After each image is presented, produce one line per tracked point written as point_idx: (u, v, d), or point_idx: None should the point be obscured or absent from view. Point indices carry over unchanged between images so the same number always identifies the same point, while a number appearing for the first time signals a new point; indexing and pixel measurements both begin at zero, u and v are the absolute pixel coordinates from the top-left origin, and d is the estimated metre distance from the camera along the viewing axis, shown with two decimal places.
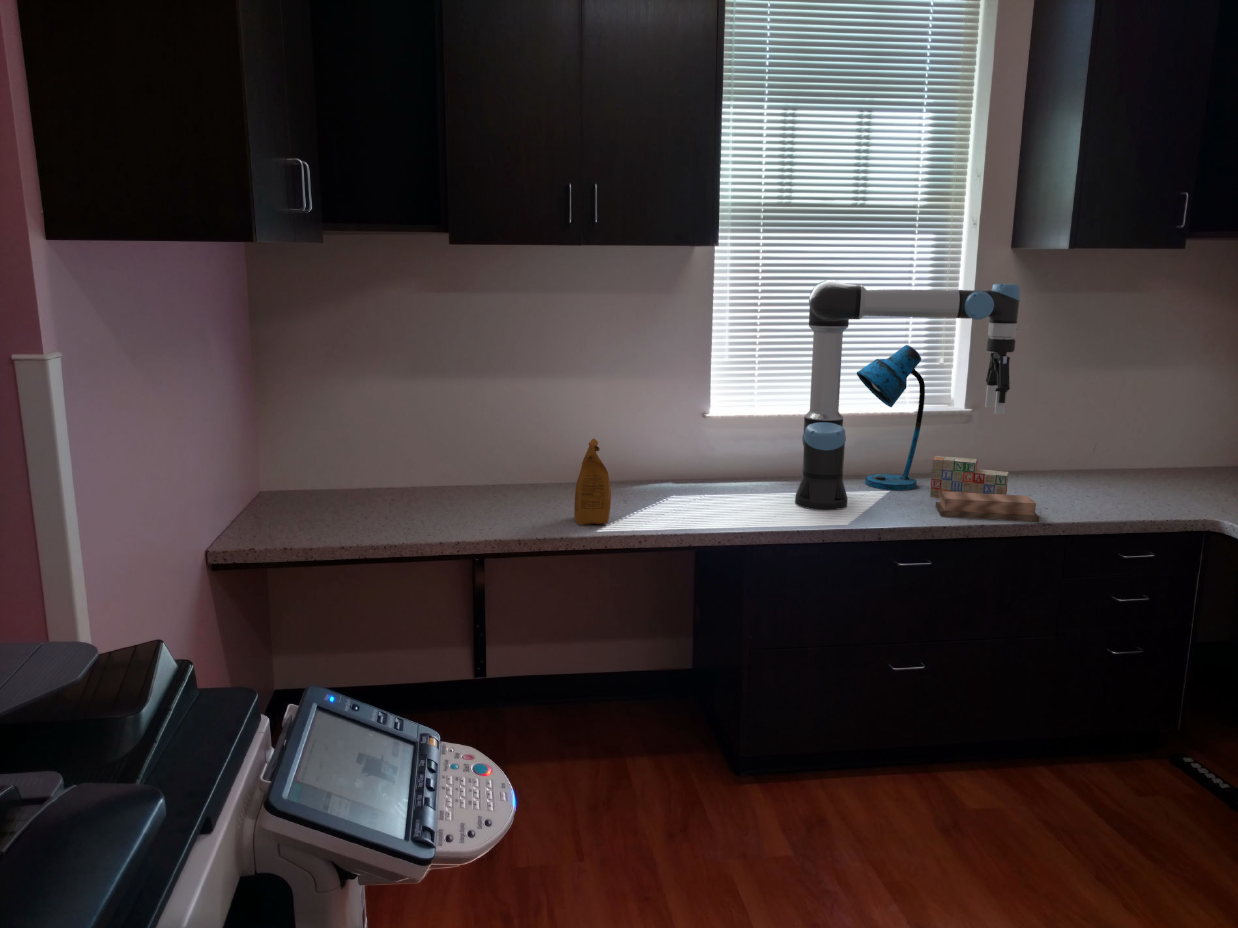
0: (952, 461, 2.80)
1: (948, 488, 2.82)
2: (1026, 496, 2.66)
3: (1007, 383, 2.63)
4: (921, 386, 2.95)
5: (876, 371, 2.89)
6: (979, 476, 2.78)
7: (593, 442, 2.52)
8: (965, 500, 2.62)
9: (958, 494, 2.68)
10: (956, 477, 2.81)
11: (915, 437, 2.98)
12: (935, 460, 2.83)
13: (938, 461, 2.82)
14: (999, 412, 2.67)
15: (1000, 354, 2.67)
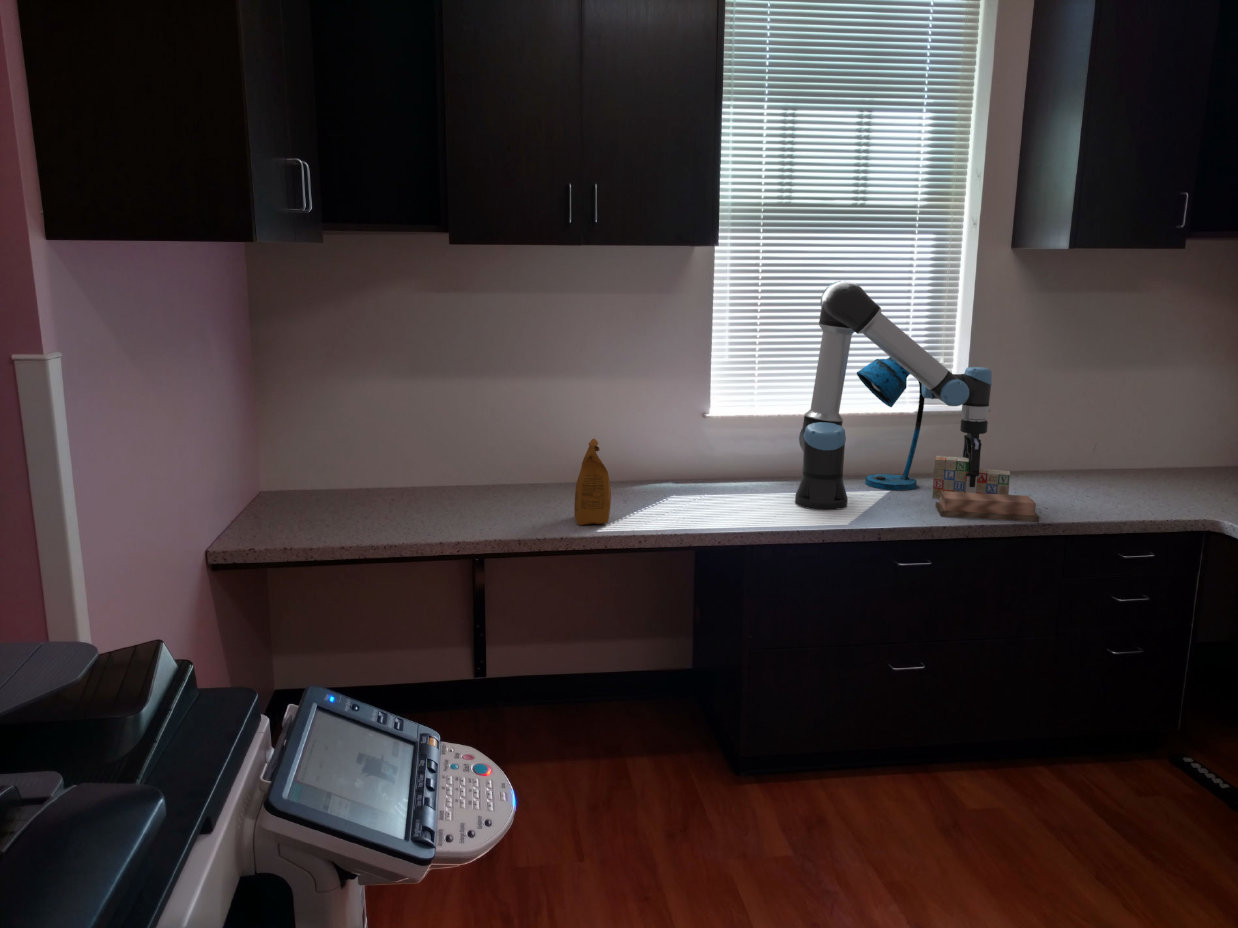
0: (954, 461, 2.80)
1: (950, 488, 2.82)
2: (1026, 496, 2.66)
3: (977, 469, 2.74)
4: (921, 386, 2.95)
5: (876, 371, 2.89)
6: (982, 476, 2.78)
7: (593, 442, 2.52)
8: (965, 500, 2.62)
9: (958, 494, 2.68)
10: (959, 477, 2.80)
11: (915, 437, 2.98)
12: (937, 460, 2.82)
13: (940, 461, 2.82)
14: None
15: (973, 436, 2.76)
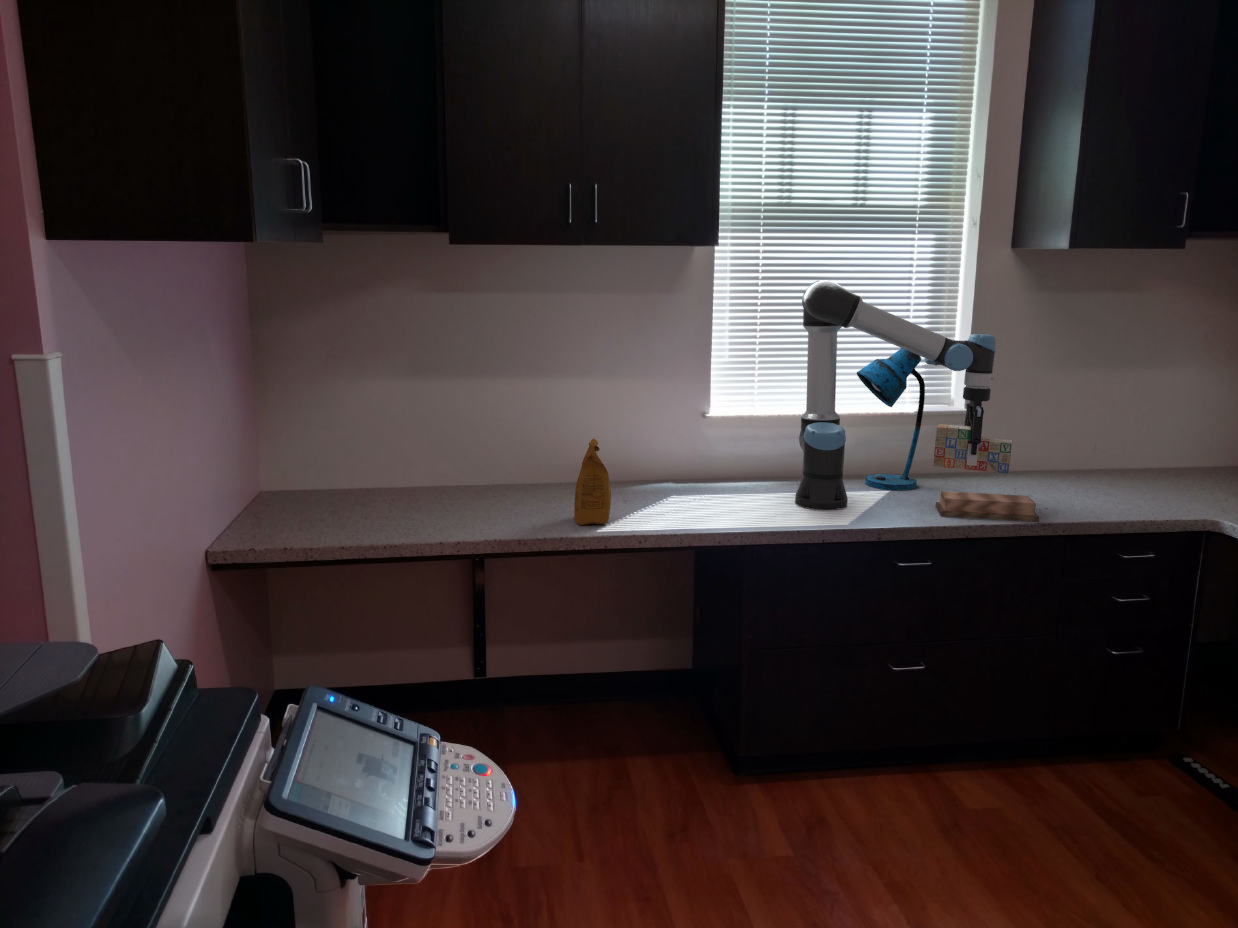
0: (956, 429, 2.78)
1: (951, 456, 2.80)
2: (1026, 496, 2.66)
3: (979, 437, 2.72)
4: (921, 386, 2.95)
5: (876, 371, 2.89)
6: (983, 444, 2.76)
7: (593, 442, 2.52)
8: (965, 500, 2.62)
9: (958, 494, 2.68)
10: (960, 445, 2.78)
11: (915, 437, 2.98)
12: (939, 428, 2.80)
13: (942, 429, 2.79)
14: (971, 463, 2.77)
15: (975, 403, 2.74)
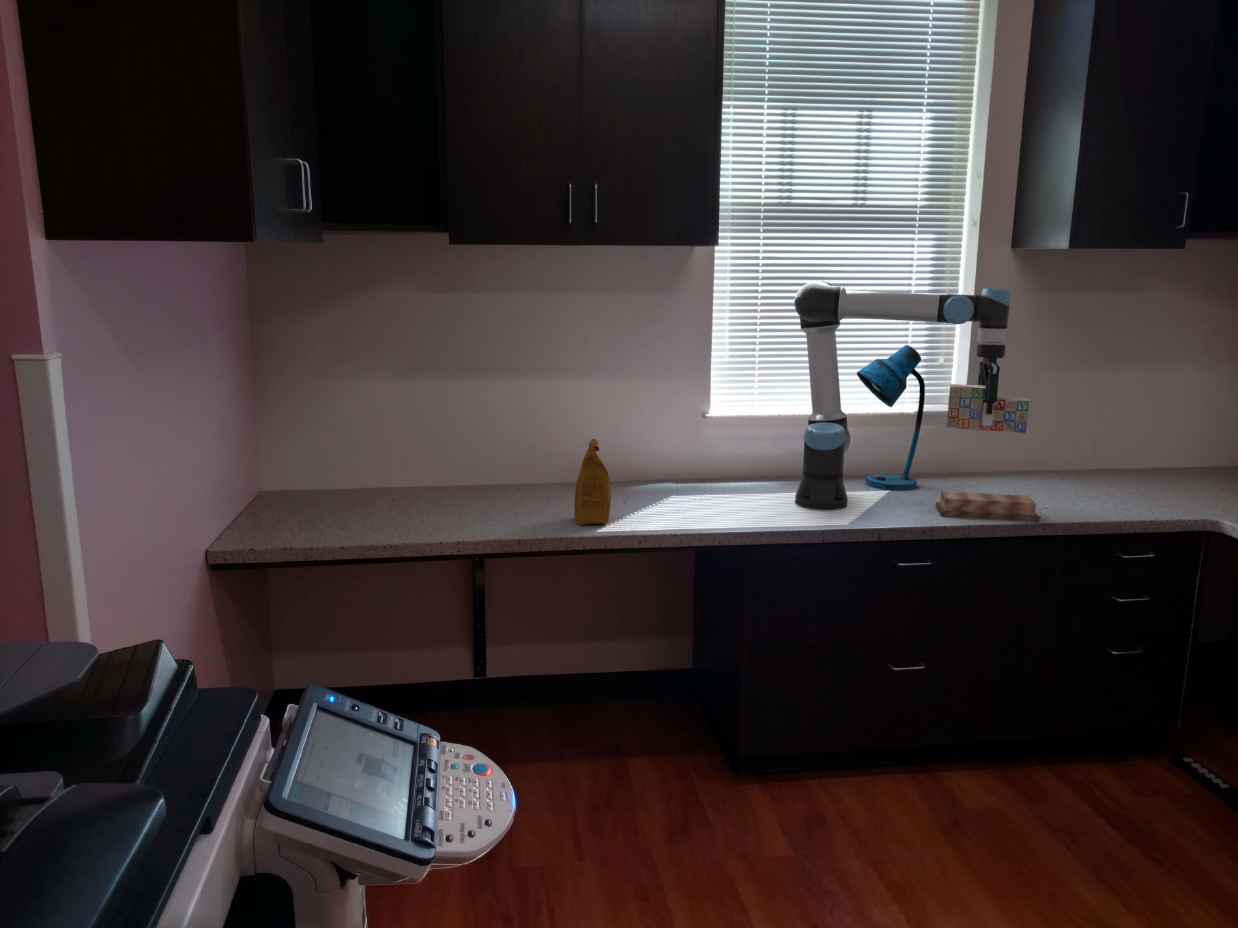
0: (971, 388, 2.66)
1: (966, 416, 2.68)
2: (1026, 496, 2.66)
3: (995, 395, 2.61)
4: (921, 386, 2.95)
5: (876, 371, 2.89)
6: (999, 403, 2.64)
7: (593, 442, 2.52)
8: (965, 500, 2.62)
9: (958, 494, 2.68)
10: (975, 405, 2.66)
11: (915, 437, 2.98)
12: (952, 387, 2.68)
13: (956, 388, 2.68)
14: (986, 423, 2.65)
15: (990, 360, 2.62)
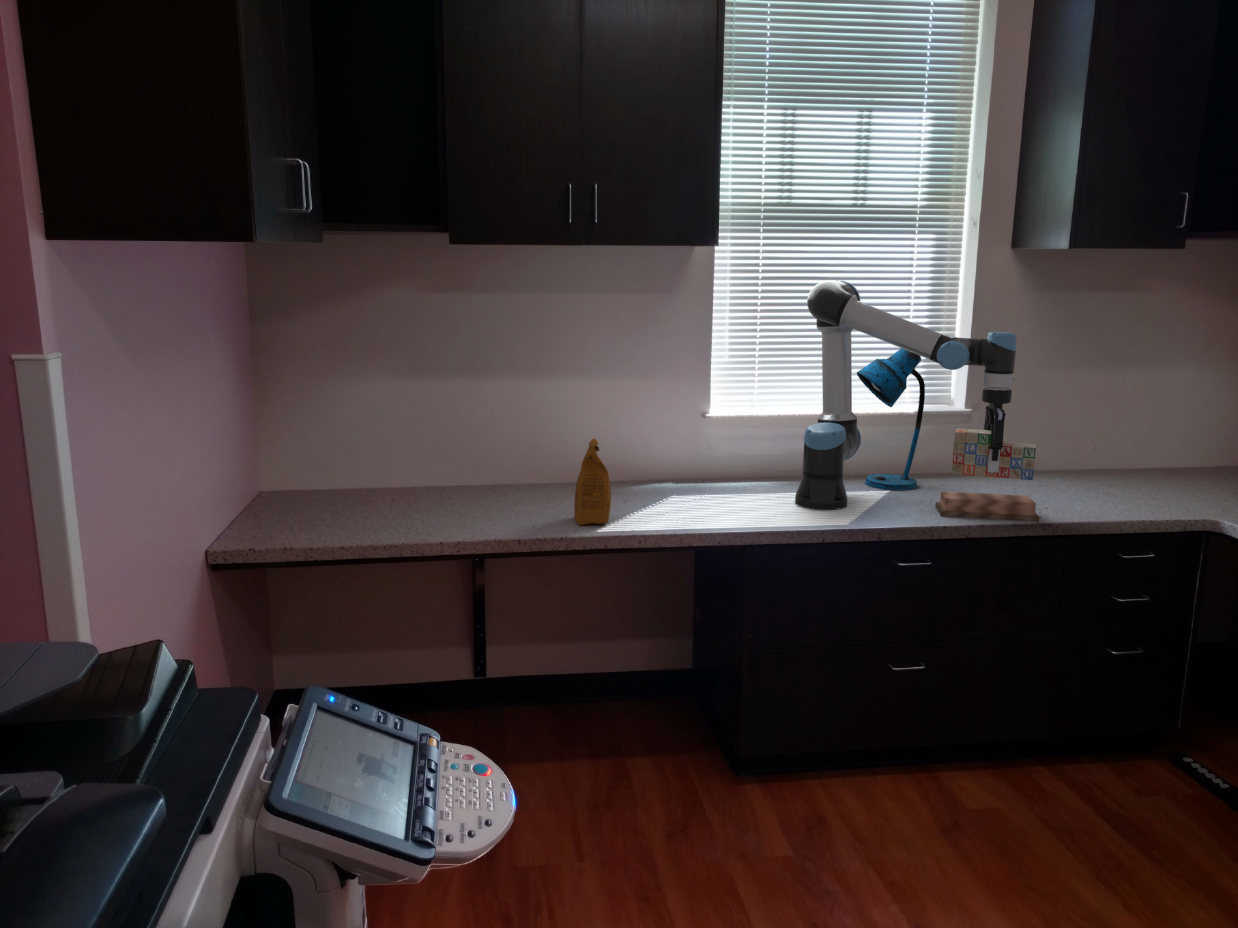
0: (976, 433, 2.60)
1: (971, 462, 2.62)
2: (1026, 496, 2.66)
3: (1000, 442, 2.55)
4: (921, 386, 2.95)
5: (876, 371, 2.89)
6: (1005, 449, 2.58)
7: (593, 442, 2.52)
8: (965, 500, 2.62)
9: (958, 494, 2.68)
10: (980, 451, 2.60)
11: (915, 437, 2.98)
12: (957, 433, 2.62)
13: (961, 434, 2.62)
14: (992, 470, 2.59)
15: (996, 405, 2.56)
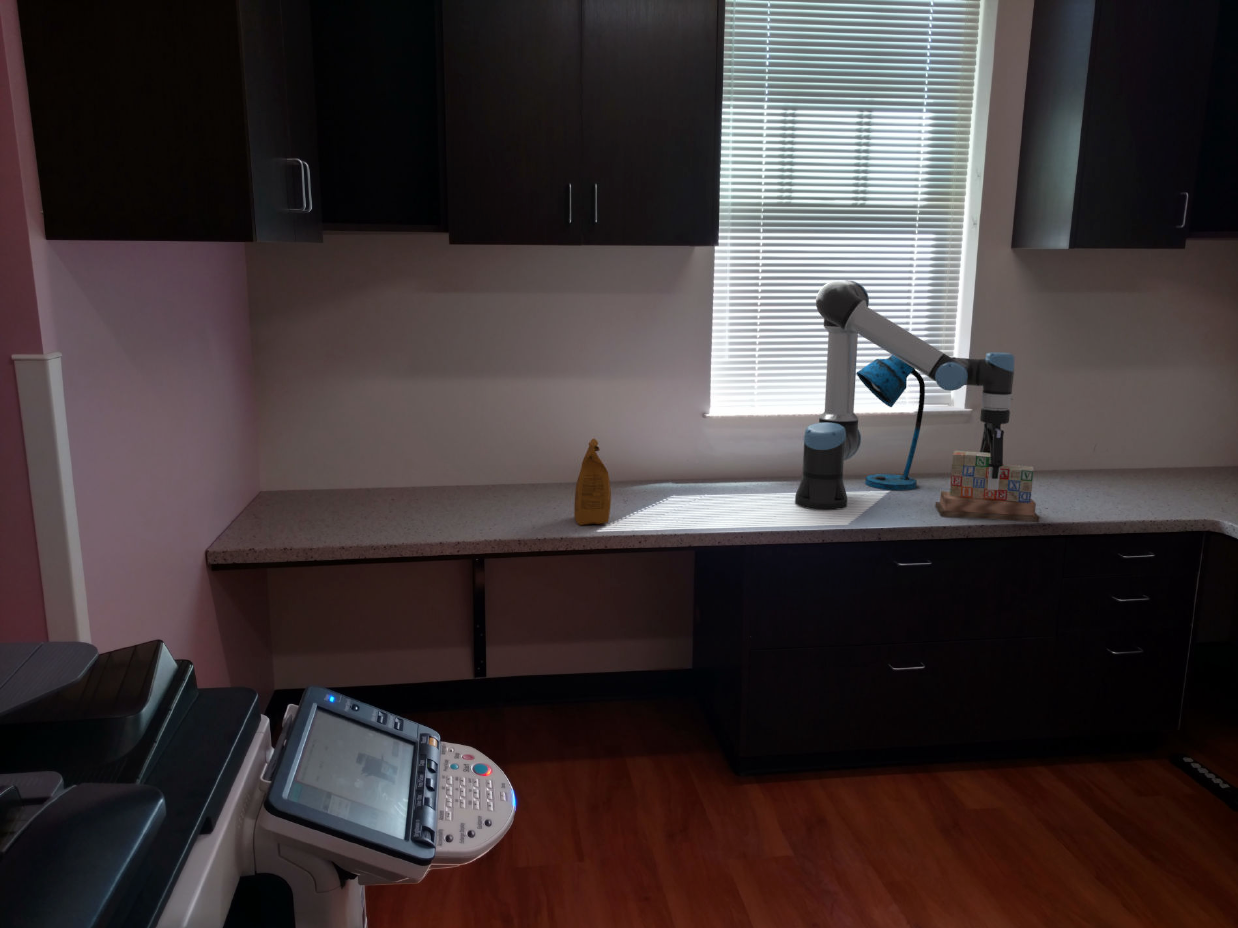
0: (974, 456, 2.62)
1: (969, 485, 2.63)
2: None
3: (1000, 459, 2.54)
4: (921, 386, 2.95)
5: (876, 371, 2.89)
6: (1003, 472, 2.59)
7: (593, 442, 2.52)
8: (965, 500, 2.62)
9: None
10: (978, 473, 2.62)
11: (915, 437, 2.98)
12: (955, 455, 2.64)
13: (959, 456, 2.63)
14: (992, 488, 2.58)
15: (994, 426, 2.57)
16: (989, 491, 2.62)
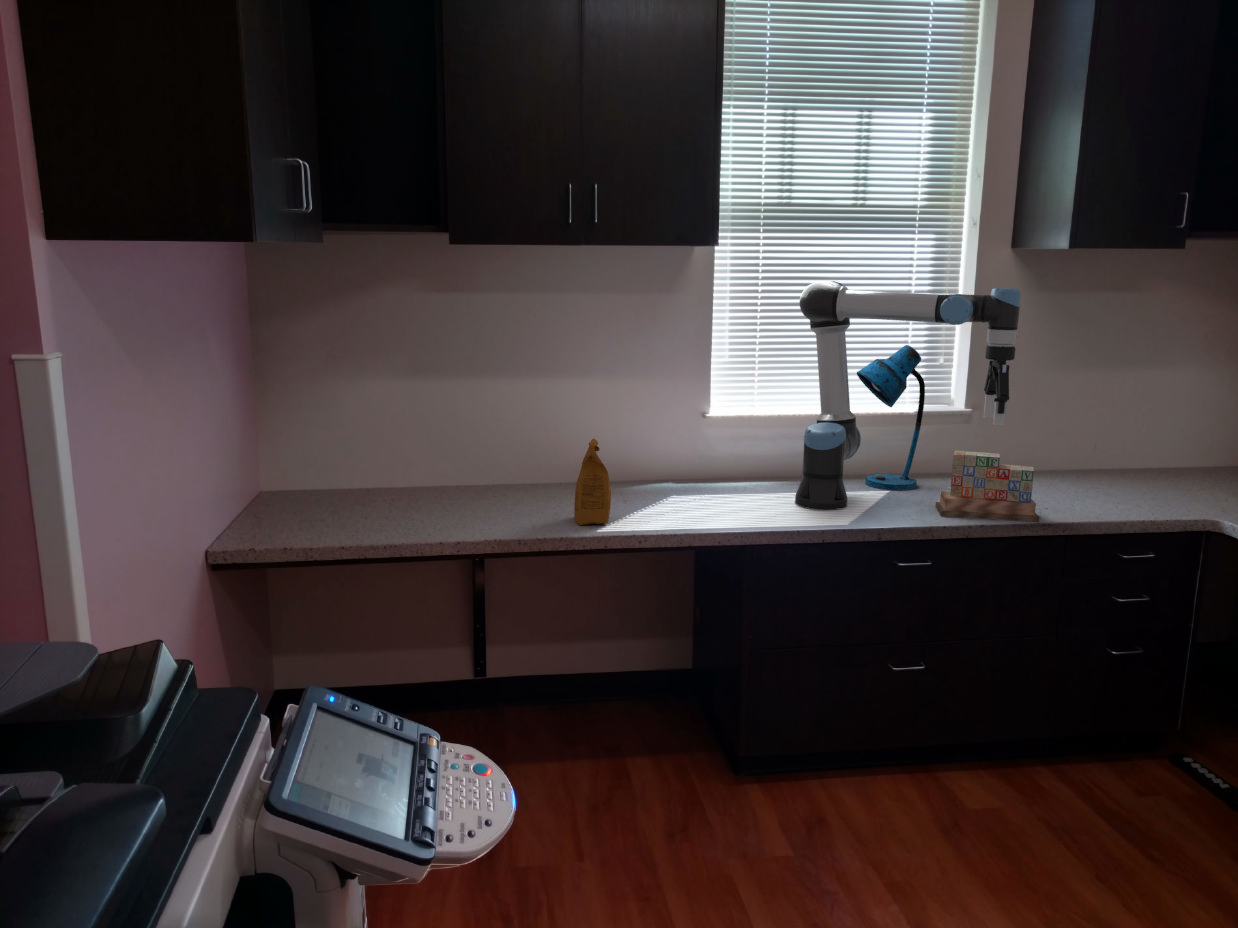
0: (974, 456, 2.62)
1: (970, 485, 2.63)
2: None
3: (1007, 393, 2.49)
4: (921, 386, 2.95)
5: (876, 371, 2.89)
6: (1004, 472, 2.59)
7: (593, 442, 2.52)
8: (965, 500, 2.62)
9: None
10: (979, 473, 2.62)
11: (915, 437, 2.98)
12: (956, 455, 2.64)
13: (959, 456, 2.63)
14: (998, 423, 2.54)
15: (999, 362, 2.54)
16: (989, 491, 2.62)
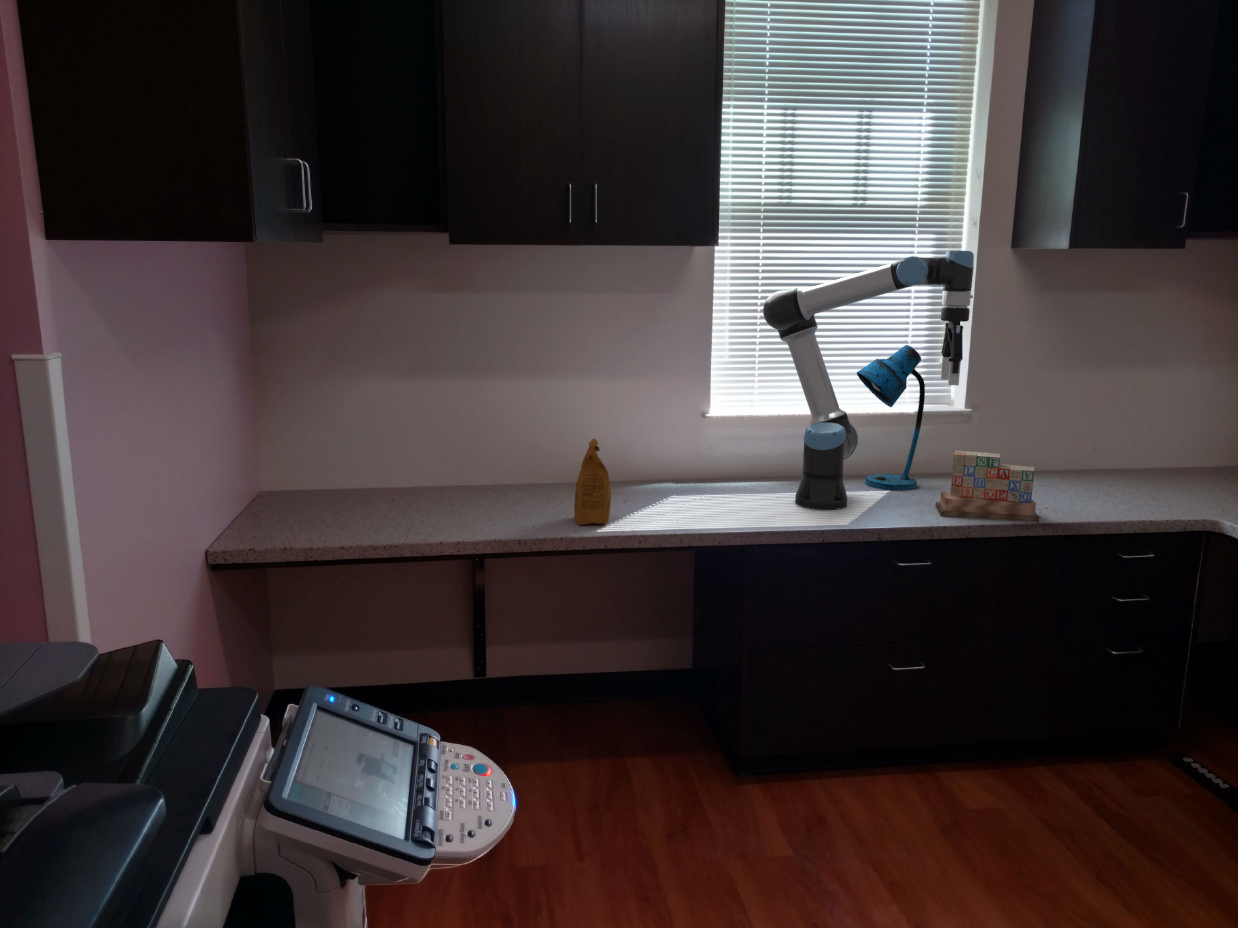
0: (975, 456, 2.62)
1: (970, 485, 2.63)
2: None
3: (960, 353, 2.55)
4: (921, 386, 2.95)
5: (876, 371, 2.89)
6: (1004, 472, 2.59)
7: (593, 442, 2.52)
8: (965, 500, 2.62)
9: None
10: (979, 473, 2.62)
11: (915, 437, 2.98)
12: (956, 455, 2.64)
13: (959, 456, 2.63)
14: (952, 383, 2.59)
15: (954, 323, 2.59)
16: (989, 491, 2.62)
